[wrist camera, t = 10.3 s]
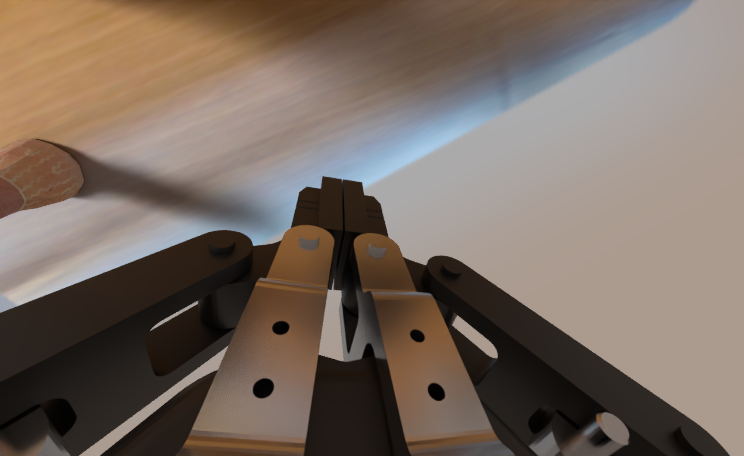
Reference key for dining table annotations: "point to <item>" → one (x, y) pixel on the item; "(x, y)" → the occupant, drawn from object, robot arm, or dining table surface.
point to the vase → (36, 176)
